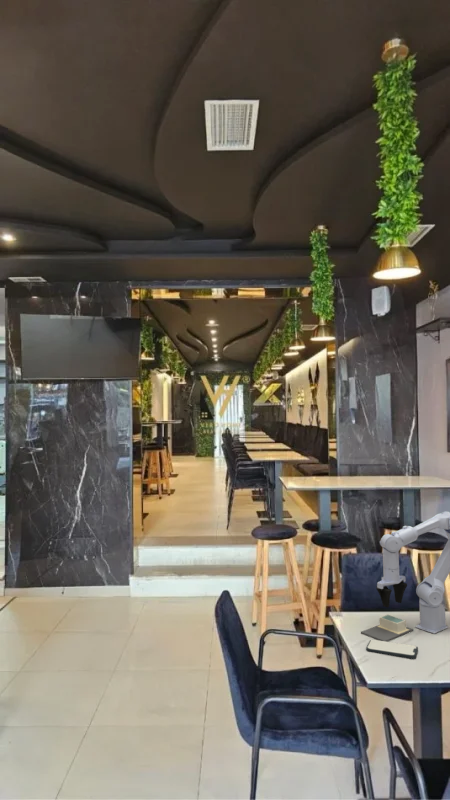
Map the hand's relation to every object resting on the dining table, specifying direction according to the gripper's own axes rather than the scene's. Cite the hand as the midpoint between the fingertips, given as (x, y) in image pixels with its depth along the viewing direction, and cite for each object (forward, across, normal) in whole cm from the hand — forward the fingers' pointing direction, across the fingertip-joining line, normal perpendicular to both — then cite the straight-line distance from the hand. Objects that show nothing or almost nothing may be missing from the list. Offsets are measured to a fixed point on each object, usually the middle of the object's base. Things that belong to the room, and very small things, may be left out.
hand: (392, 604), depth 194 cm
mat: (+9, +4, 0) cm, 10 cm away
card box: (+8, 0, 0) cm, 9 cm away
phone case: (+10, +15, +10) cm, 21 cm away
